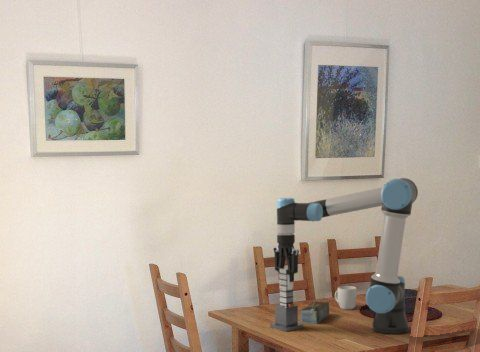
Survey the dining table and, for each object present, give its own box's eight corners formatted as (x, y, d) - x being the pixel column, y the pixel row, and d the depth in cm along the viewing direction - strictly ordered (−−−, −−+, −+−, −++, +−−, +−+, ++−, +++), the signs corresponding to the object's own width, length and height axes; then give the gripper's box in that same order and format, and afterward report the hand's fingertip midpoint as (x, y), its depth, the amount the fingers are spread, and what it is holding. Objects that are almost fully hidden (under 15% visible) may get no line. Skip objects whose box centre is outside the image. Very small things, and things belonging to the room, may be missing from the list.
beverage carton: (299, 323, 317) (299, 308, 316) (313, 314, 334) (313, 300, 334) (317, 324, 313) (317, 309, 313) (330, 315, 331) (329, 301, 331)
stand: (303, 327, 307) (302, 302, 307) (286, 331, 301) (286, 306, 300) (286, 323, 315) (286, 299, 314) (270, 327, 308) (269, 302, 308)
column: (293, 315, 307) (293, 268, 307) (286, 316, 305) (286, 269, 304) (286, 313, 310) (286, 267, 310) (279, 314, 308) (279, 268, 307)
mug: (360, 308, 344) (360, 287, 344) (346, 311, 339) (346, 290, 338) (342, 304, 354) (342, 284, 354) (328, 306, 349) (328, 286, 349)
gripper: (306, 235, 302) (306, 290, 303) (278, 231, 315) (278, 284, 316) (293, 236, 297) (294, 292, 298) (265, 233, 311) (266, 286, 311)
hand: (286, 288), depth 307 cm, fingers closed on column, 4 cm apart
